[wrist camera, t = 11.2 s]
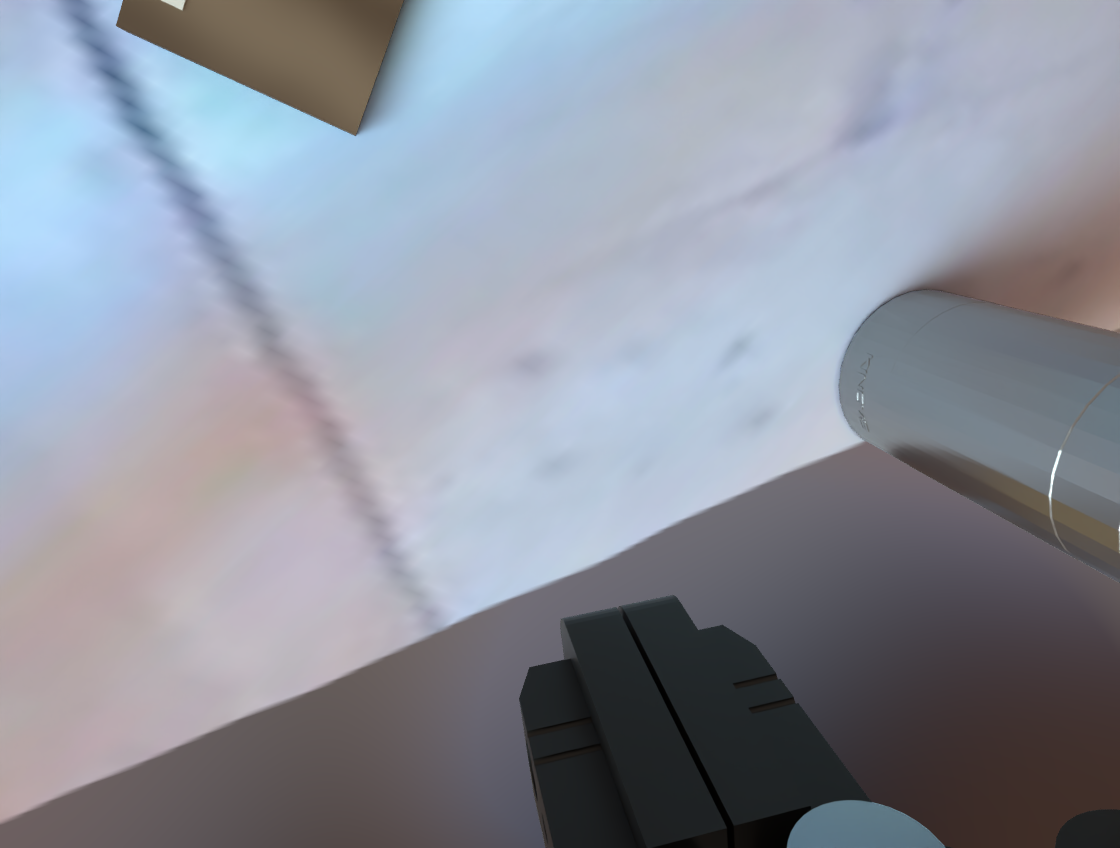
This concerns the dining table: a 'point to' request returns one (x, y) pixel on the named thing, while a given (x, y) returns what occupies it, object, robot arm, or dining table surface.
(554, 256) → the dining table surface
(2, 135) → the dining table surface
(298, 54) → the wooden base plate
